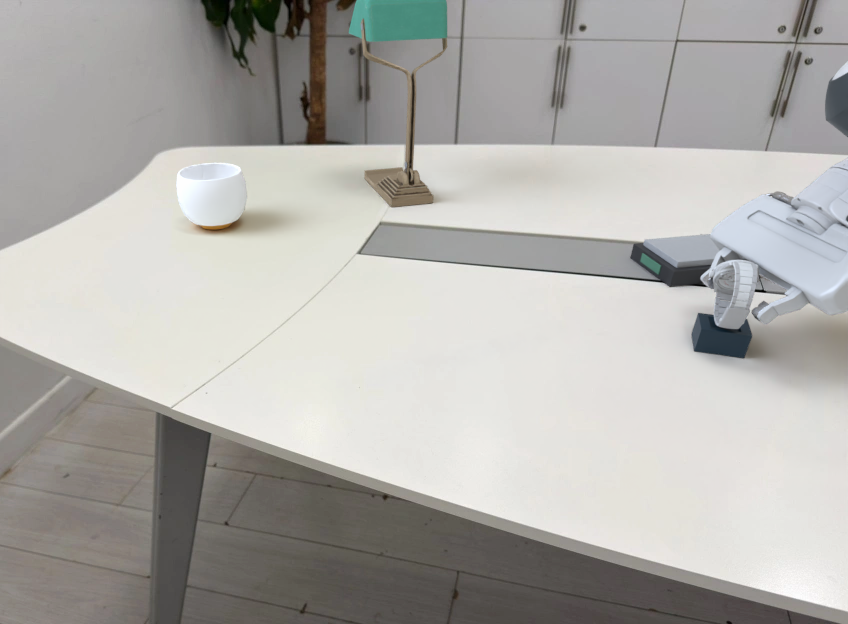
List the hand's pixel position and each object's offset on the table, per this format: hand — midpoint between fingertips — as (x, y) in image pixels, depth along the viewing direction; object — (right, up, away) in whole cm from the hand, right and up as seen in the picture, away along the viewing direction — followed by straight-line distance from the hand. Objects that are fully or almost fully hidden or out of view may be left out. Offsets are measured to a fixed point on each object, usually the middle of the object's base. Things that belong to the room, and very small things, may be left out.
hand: (730, 300), depth 80 cm
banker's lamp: (-35, +30, +58) cm, 74 cm away
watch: (0, -5, +4) cm, 7 cm away
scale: (+8, +8, +23) cm, 26 cm away
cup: (-69, +19, +43) cm, 84 cm away
